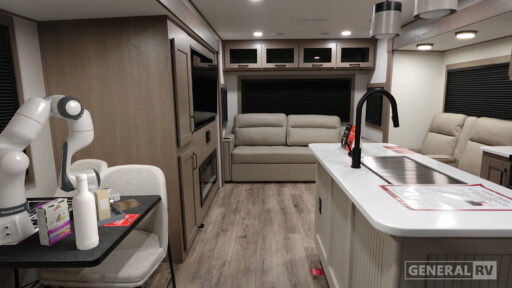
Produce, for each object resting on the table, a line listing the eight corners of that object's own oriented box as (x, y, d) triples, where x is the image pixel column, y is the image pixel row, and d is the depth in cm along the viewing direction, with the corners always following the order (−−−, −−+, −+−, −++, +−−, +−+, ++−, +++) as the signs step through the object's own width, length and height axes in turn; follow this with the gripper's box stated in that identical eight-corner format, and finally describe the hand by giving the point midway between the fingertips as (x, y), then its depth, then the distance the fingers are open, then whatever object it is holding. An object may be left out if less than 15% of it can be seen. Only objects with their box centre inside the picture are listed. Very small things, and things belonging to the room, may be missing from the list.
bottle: (72, 247, 116) (64, 175, 111) (91, 238, 123) (85, 170, 118) (83, 252, 112) (76, 178, 107) (103, 243, 119) (96, 173, 114)
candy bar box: (62, 232, 128) (58, 197, 126) (72, 233, 127) (68, 198, 125) (39, 245, 118) (34, 207, 115) (49, 246, 117) (44, 208, 114)
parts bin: (91, 229, 131) (90, 223, 131) (81, 219, 142) (81, 213, 141) (125, 219, 142) (125, 213, 142) (114, 210, 153) (113, 205, 152)
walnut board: (119, 211, 151) (119, 210, 151) (111, 205, 159) (111, 203, 159) (141, 205, 160) (141, 204, 159) (132, 200, 168) (132, 198, 168)
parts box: (99, 221, 138) (97, 193, 136) (96, 218, 142) (93, 191, 140) (110, 218, 142) (108, 191, 140) (107, 215, 145) (105, 188, 143)
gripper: (70, 196, 142) (78, 203, 132) (113, 187, 156) (123, 193, 147) (71, 208, 143) (79, 216, 133) (114, 198, 157) (124, 205, 148)
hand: (102, 204), depth 140 cm, fingers open, 7 cm apart
